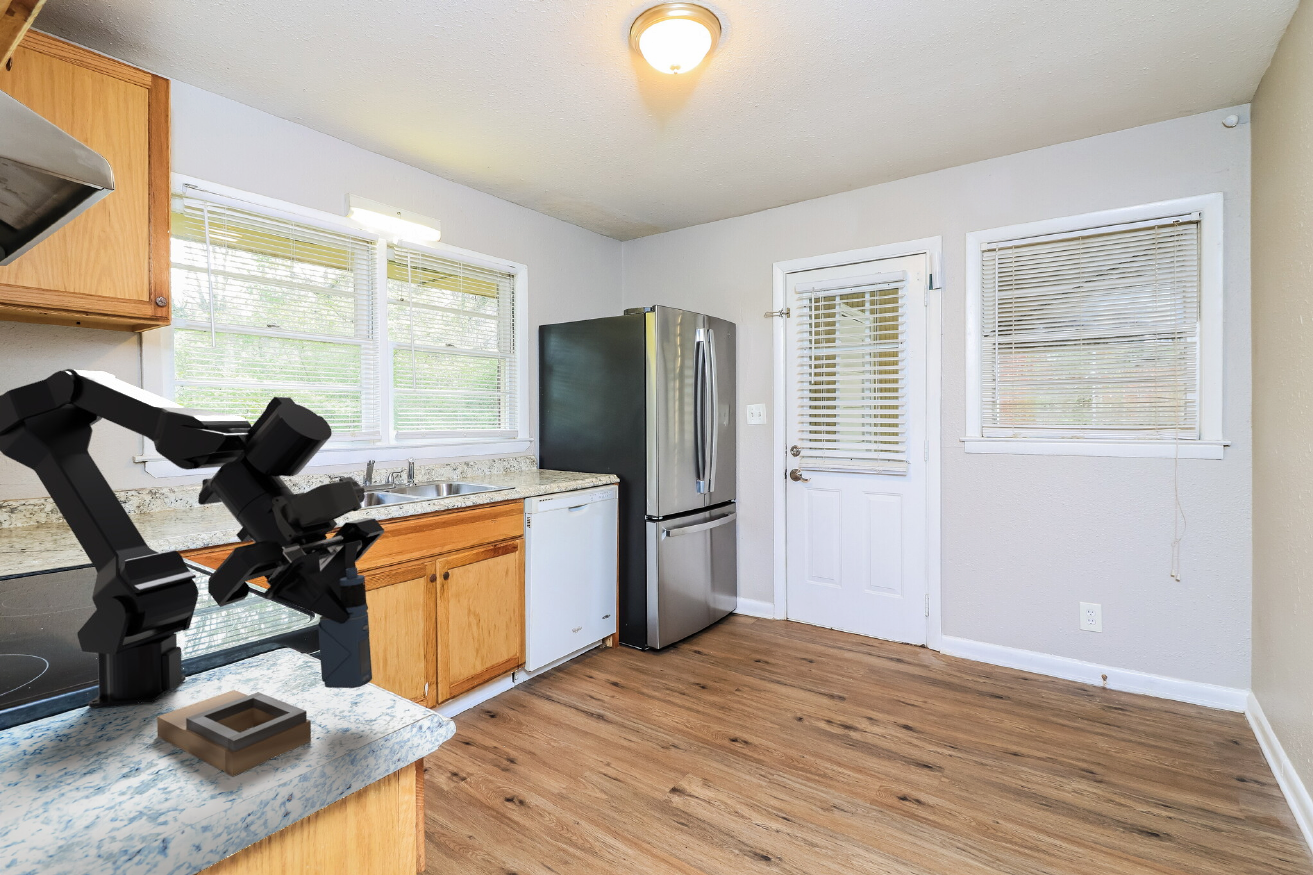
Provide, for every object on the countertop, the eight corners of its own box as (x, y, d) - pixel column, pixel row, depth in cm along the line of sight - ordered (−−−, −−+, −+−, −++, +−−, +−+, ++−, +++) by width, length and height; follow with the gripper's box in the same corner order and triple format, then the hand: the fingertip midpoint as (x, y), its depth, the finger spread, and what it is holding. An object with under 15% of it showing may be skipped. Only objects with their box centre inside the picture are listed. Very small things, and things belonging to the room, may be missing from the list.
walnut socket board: (157, 736, 62) (156, 706, 61) (234, 707, 68) (233, 680, 68) (232, 776, 55) (232, 742, 54) (311, 740, 61) (310, 710, 61)
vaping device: (362, 689, 63) (354, 571, 63) (316, 688, 64) (308, 572, 64) (378, 678, 66) (370, 565, 66) (334, 678, 67) (326, 566, 67)
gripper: (231, 459, 56) (337, 589, 54) (370, 450, 74) (453, 546, 72) (163, 542, 58) (263, 670, 56) (314, 513, 76) (394, 609, 74)
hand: (355, 616), depth 65 cm, fingers closed on vaping device, 2 cm apart
